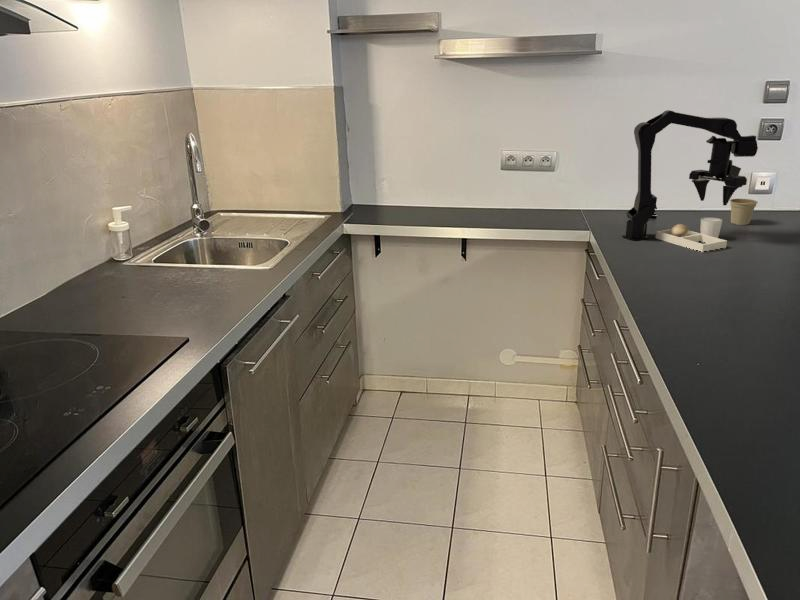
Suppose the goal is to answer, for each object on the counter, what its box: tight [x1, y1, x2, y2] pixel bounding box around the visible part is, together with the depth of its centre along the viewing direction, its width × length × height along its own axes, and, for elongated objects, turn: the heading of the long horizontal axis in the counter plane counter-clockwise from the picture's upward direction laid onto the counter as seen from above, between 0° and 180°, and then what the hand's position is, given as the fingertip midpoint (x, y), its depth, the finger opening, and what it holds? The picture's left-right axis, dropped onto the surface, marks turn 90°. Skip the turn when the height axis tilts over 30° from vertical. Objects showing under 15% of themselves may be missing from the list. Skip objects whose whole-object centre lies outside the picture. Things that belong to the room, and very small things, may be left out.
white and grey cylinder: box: [699, 216, 723, 238], centre depth 214 cm, size 7×7×7 cm
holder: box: [655, 228, 728, 253], centre depth 211 cm, size 11×20×2 cm, turn 23°
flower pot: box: [729, 198, 759, 226], centre depth 232 cm, size 9×9×9 cm
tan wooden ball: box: [670, 223, 689, 237], centre depth 214 cm, size 6×6×6 cm
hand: (713, 202), depth 212 cm, fingers open, 9 cm apart
